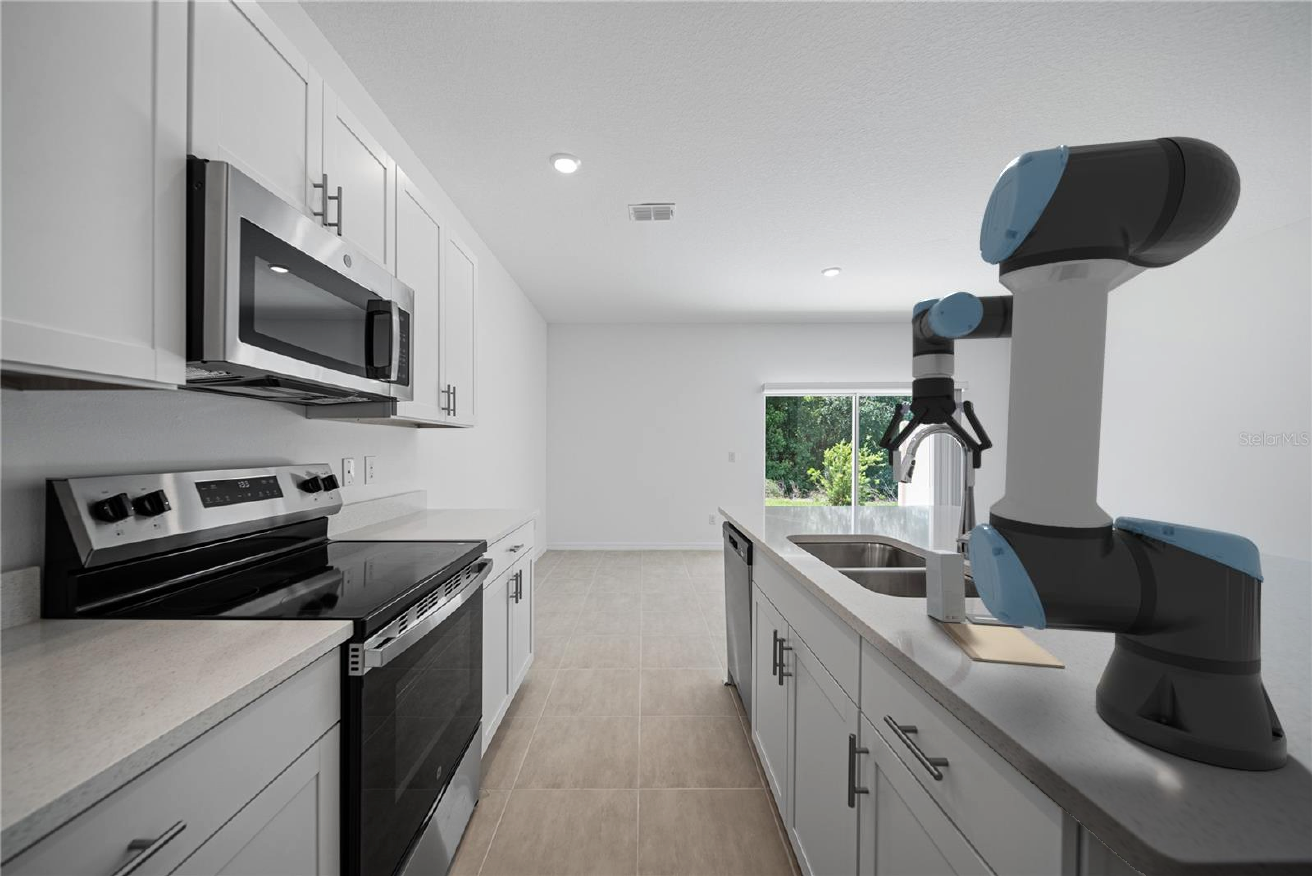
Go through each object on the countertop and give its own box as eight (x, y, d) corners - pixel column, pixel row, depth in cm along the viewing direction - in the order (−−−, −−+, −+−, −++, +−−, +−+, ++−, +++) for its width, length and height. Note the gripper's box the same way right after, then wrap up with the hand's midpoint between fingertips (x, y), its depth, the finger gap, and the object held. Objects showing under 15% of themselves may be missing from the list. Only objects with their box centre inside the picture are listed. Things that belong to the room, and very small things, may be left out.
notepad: (1064, 667, 76) (1064, 665, 76) (972, 660, 79) (972, 657, 79) (1014, 629, 92) (1014, 627, 92) (938, 624, 94) (938, 621, 94)
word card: (1023, 627, 93) (1023, 625, 93) (973, 623, 95) (973, 621, 95) (1010, 618, 98) (1010, 616, 98) (963, 614, 100) (962, 612, 100)
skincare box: (967, 623, 94) (964, 554, 95) (942, 622, 94) (940, 553, 95) (948, 614, 100) (947, 549, 101) (925, 613, 100) (924, 549, 101)
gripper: (1009, 375, 102) (1009, 486, 101) (876, 384, 118) (875, 479, 118) (1002, 371, 96) (1002, 488, 96) (863, 381, 113) (863, 481, 112)
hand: (932, 484), depth 107 cm, fingers open, 13 cm apart
